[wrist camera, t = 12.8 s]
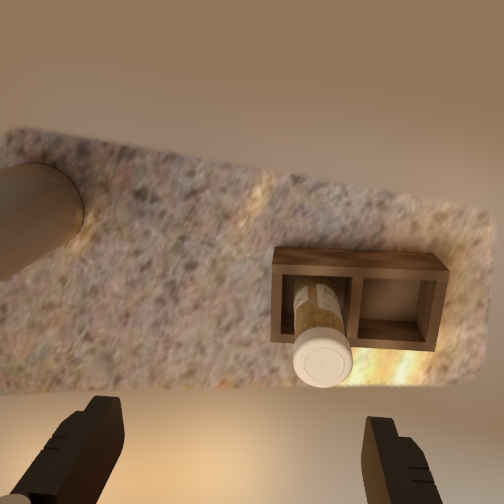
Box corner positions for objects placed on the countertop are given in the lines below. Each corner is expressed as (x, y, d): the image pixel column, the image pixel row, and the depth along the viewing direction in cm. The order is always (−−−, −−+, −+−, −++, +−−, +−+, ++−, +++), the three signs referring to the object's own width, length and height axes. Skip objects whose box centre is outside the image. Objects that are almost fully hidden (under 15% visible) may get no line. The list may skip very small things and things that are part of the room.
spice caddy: (272, 318, 45) (270, 342, 41) (274, 247, 42) (272, 264, 38) (420, 326, 44) (434, 351, 39) (432, 253, 41) (449, 271, 36)
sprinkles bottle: (286, 278, 43) (283, 350, 30) (326, 262, 42) (341, 331, 29) (302, 313, 44) (306, 397, 31) (342, 299, 43) (363, 380, 30)
